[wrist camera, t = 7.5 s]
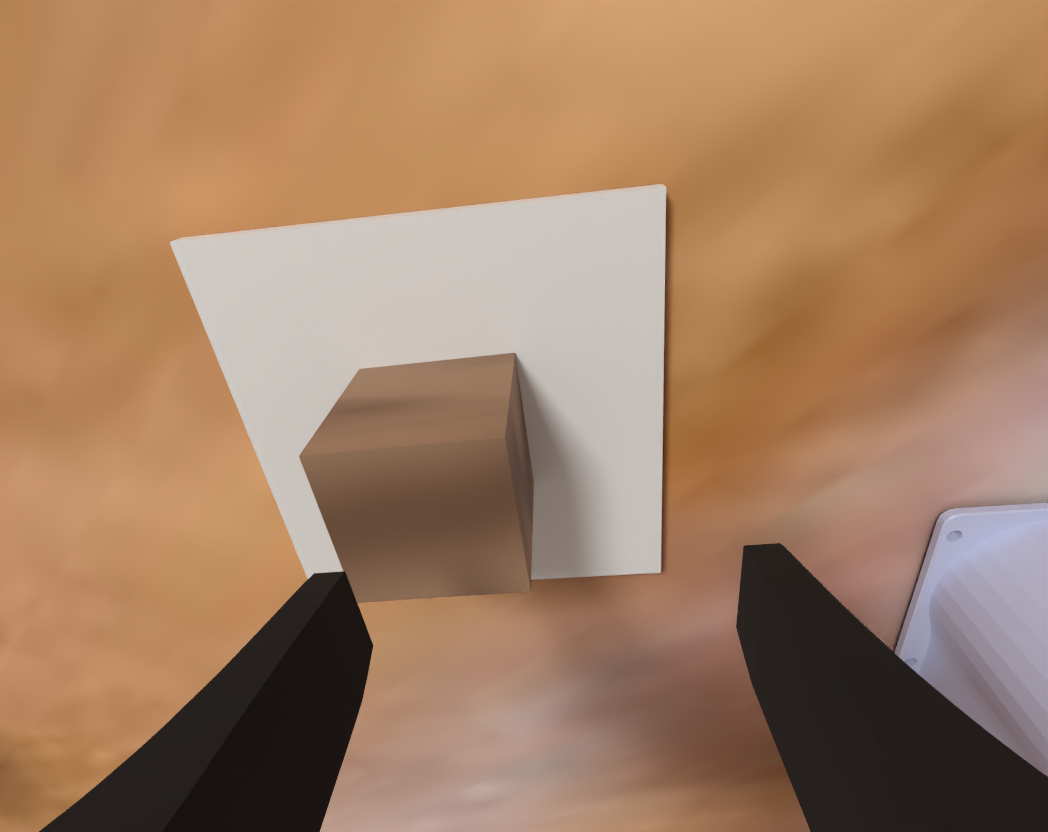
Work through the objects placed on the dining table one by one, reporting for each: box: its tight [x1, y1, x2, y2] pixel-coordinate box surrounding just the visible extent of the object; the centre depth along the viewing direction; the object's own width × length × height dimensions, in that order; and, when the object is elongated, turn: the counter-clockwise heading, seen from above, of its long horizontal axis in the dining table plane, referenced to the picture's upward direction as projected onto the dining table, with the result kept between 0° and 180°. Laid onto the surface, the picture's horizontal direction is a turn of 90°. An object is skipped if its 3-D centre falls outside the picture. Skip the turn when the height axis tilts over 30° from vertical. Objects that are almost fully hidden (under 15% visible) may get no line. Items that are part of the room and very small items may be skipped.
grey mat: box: [170, 184, 666, 580], centre depth 19 cm, size 14×14×1 cm
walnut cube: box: [299, 353, 534, 603], centre depth 17 cm, size 5×5×5 cm
